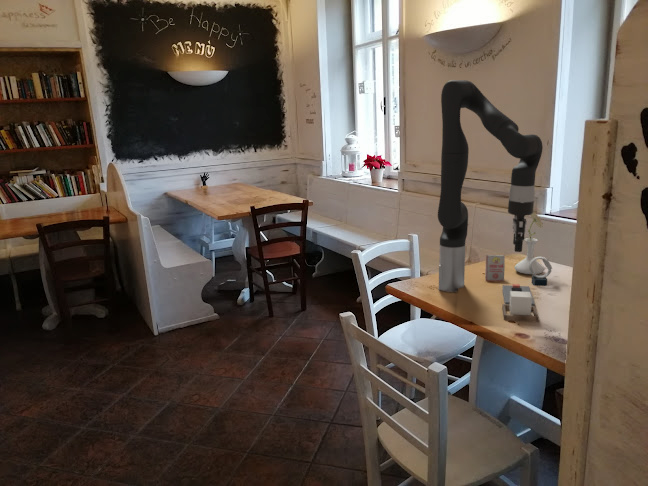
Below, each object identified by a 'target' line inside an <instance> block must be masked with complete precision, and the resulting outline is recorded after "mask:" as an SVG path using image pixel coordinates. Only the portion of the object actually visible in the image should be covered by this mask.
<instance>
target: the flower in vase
mask: <svg viewBox="0 0 648 486" xmlns="http://www.w3.org/2000/svg"><path fill="white" fill-rule="evenodd" d="M530 218H531V219H532V222H531V224H530V226H529V229H528V228H527V232H528V233H529V234H528V235H529V237H528V238H527V237H526V238H525V239H524V241H525V242H526V245H527V246H526V249H527V254H526V257H525V258H523V259H522V260H520V261H519V262H518V263H516V264H515V266H514V270H515V271H516V272H519V273H521V274H525V275H533V274H532V273H531V271H530V269H529V263H530V261H531V260H532V259H533V258H534V250H535V245H536V244H537V242H538V241H539V240H538V239H537V238H532V236H534V235H536V234H537V233H536V232H535V231H534V233H532V234H531V229H532V225H533V224H536V226H537V227H539V228H540V229H542V228H543V222H542V220H541V217H540V216H538V214H537V212H536V211H533V213H532V214H531V215H530ZM531 265H532V269H533V272H534V273H535V275H540V274H542V273H544V272H545V270H546V269H545V267H544V265H542V264H541V263H540V262H539V261H538V259H537V260H535V261H534V262H532V264H531Z"/></svg>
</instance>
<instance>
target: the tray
mask: <svg viewBox="0 0 648 486" xmlns="http://www.w3.org/2000/svg"><path fill="white" fill-rule="evenodd" d="M501 309H502V316H503V320H505V321H518V322H533V323H534V322H535V323H538V322H539V319H540V318H539V313H538V311H537V308H536V306H531V312H532V313H533V315H531V316H530V315H513V314H507V311H508V310H509V305H508V304H505V303H502V307H501ZM509 311H510V310H509Z"/></svg>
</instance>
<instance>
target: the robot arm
mask: <svg viewBox="0 0 648 486" xmlns="http://www.w3.org/2000/svg"><path fill="white" fill-rule="evenodd" d="M440 95H441V96H440V99H441V101H440V103H441V104H440V105H441V106H440V107H441V119H442V120H441V121H442V123H441V124H442V128H441V129H442V130H441V131H442V132H441V133H442V134H441V135H442V138H441V139H442V141H441V142H442V143H441V156H440V158H441V161H440V163H441V164H440V165H441V166H440V167H441V168H440V170H441V171H440V196H439V203H438V208H437V209H438V210H437V219H438V222H439V224H440V225H441V227H442V232H441V235H440V237H439V266H438V290H439V291H444V292H447V293H458V292H459V289H462V288H464V287H465V271H466V268H465V267H466V266H465V265H466V263H465V261H466V240H467V237H468V230H469V229H468V226H469V211H468V208H467V206H466V204H465V203H463V202H462V189H463V185H464V180H465V178H466V176H467V171H468V167H469V165H468V164H469V144H468V141H467V138H466V135H465V133H464V131H463V128H462V124H461V109H464V108H465V109H467V110H469V111H471V112H473V113H475V114H476V116H478V118H479V119H480V121H481V124H482V126H483V128H484V129H485V130H486V131H488V132H489V134H491V135H492V136H493V137H495V139H497V140H498V141H499V142H500V143H501V145H502V146H503V147H504V149H505V150H506V152H507V153H508V154H509V155H510V156H512V157H514V158H516V159H518V160H519V162H518V164H517V165H515V166H514V167H513V168H512V170H511V177H510V178H511V179H510V187H509V193H508V194H509V195H508V203H507V206H508V207H507V213H508V214H510V215H512V216H513V215H514V216H513V218H512V230H513V240H512V244H513V245H514V252H516V253H521V252H522V251H523V244H524V243H523V242H524V241H525V239H526V238H525V234H526V227H527V225H528V224H527V218H525V217H526V216H531V214H532V213H533V212H534V204H535V194H536V190H535V183H536V172H537V169H538V167H539V164H540V161H541V157H542V154H543V150H544V149H543V142H542V139H541V137H540V136H538V135H537V134H521V133H520V132H519V130H520V129H519V126H518V124H517V123H516V122H515V121H513V119H511V118H510V117H508V116H507V115H506V114H505V113H503V112H502V111H501V110H499V109H498V108H497V107H496V106H495V105H494V104H493V103H492V102H491V101H490V100H489V99H488V98H487V97H486V96H485V95H484V93H482V92H481V90H480V89H479V88H478V87H477V85H476V84H474V83H473V82H472V81H469V80H464V79H461V80H460V79H456V80H455V79H451V80H449V81H447V82H445V83H444V85H443V86H442V89H441V94H440Z"/></svg>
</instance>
